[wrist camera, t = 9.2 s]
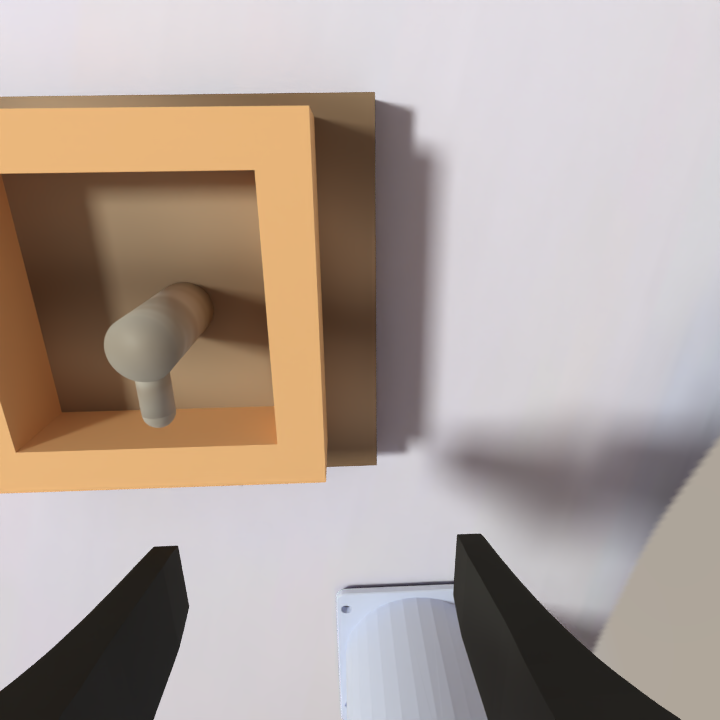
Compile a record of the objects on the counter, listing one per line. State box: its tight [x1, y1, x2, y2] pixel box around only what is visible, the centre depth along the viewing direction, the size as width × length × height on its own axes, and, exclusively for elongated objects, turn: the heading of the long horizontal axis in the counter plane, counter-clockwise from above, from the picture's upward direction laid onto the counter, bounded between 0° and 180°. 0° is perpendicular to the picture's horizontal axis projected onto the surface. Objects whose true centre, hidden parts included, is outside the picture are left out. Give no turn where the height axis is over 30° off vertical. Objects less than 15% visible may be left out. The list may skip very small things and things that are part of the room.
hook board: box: [0, 92, 377, 467], centre depth 17 cm, size 14×14×6 cm
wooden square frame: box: [0, 105, 328, 493], centre depth 17 cm, size 12×12×3 cm
